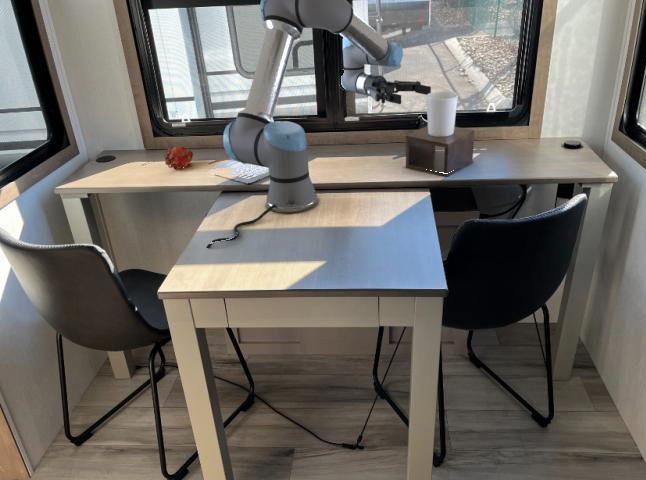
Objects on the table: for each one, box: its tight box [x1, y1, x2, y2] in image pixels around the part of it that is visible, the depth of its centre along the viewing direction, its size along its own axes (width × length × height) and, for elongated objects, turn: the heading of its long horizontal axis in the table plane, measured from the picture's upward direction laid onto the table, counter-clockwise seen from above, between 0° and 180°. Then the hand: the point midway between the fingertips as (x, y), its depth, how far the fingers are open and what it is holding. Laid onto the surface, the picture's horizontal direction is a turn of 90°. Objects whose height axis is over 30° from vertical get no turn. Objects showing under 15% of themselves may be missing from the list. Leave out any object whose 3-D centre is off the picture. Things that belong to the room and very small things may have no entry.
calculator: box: [209, 159, 270, 181], centre depth 202 cm, size 13×20×2 cm, turn 51°
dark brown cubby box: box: [405, 125, 476, 178], centre depth 195 cm, size 16×16×11 cm
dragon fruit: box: [164, 144, 194, 170], centre depth 209 cm, size 8×8×12 cm
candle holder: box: [425, 90, 459, 137], centre depth 189 cm, size 10×10×12 cm
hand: (415, 95), depth 194 cm, fingers open, 13 cm apart
